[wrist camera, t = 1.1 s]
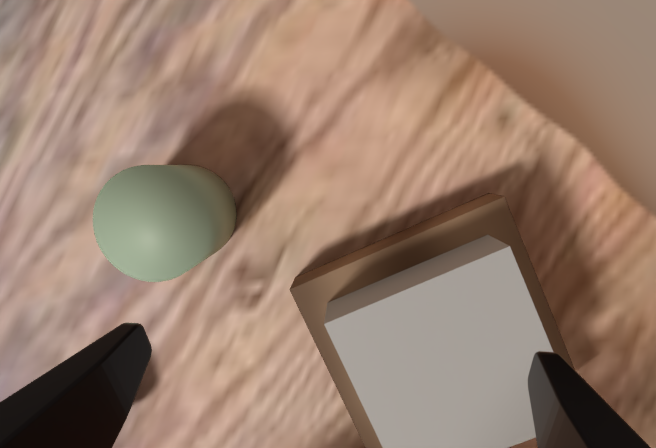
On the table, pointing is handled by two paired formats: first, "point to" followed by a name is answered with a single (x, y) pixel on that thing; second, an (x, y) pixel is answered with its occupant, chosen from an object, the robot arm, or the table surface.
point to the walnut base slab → (400, 255)
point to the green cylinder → (163, 219)
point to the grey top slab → (443, 350)
